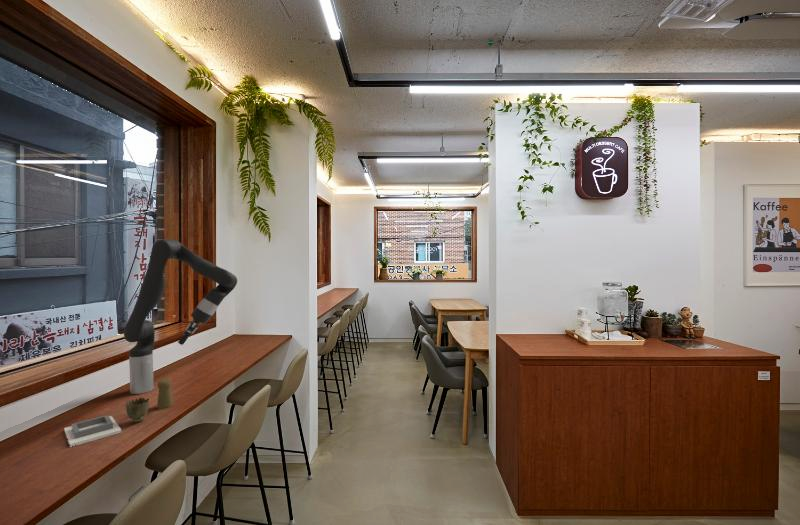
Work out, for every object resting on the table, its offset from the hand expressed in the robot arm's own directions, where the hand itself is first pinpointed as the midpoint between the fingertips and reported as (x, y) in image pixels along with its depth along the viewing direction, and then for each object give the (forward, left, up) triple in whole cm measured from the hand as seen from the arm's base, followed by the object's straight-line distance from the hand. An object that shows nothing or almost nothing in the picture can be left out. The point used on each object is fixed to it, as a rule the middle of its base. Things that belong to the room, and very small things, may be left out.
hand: (181, 342), depth 164 cm
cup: (+9, -18, -26) cm, 33 cm away
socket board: (+7, -32, -26) cm, 41 cm away
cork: (0, -7, -26) cm, 27 cm away
